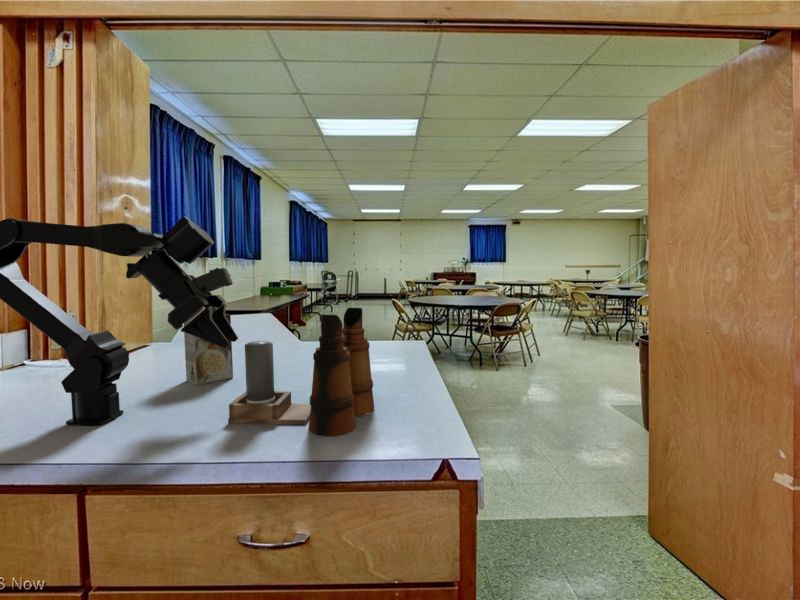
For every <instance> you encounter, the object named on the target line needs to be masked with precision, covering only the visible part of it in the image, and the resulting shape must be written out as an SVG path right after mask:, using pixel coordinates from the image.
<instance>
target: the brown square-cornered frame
mask: <svg viewBox="0 0 800 600" xmlns="http://www.w3.org/2000/svg"><path fill="white" fill-rule="evenodd" d="M274 395H275V403H274V404H247V400H246V398H247V393H246V391H245V392H243V393H242V394H241V395H239V396H238V397H237V398H235V399H234V400H233V401H231V402H230V403H229V404H228V417H229V418H227V419H228V420H227V423H228V424H253V425H255V424H260V425H261V424H263V425H268V424H269V425H270V424H271V425H307V423H309V419H310V410H311V405H310V403H292V391H287V390H274Z"/></svg>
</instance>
